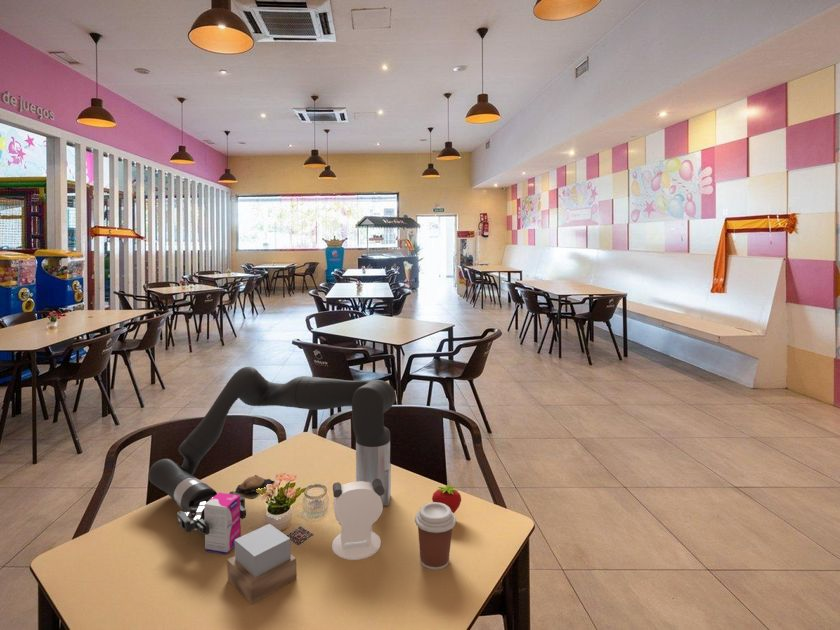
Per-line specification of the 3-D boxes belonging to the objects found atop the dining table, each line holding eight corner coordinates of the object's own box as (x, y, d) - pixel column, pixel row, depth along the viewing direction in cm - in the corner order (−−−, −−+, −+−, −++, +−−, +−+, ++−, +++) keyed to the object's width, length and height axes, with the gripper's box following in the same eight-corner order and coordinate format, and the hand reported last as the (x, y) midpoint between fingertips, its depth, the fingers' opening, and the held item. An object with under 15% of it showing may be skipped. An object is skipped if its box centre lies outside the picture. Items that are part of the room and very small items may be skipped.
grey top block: (235, 559, 99) (234, 539, 98) (270, 542, 105) (269, 523, 104) (255, 577, 93) (254, 556, 93) (290, 558, 99) (290, 538, 99)
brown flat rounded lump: (253, 502, 131) (253, 489, 131) (229, 495, 134) (229, 483, 134) (278, 484, 141) (278, 472, 140) (256, 478, 144) (255, 467, 144)
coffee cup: (459, 552, 109) (460, 503, 108) (448, 578, 101) (449, 525, 99) (421, 544, 112) (422, 496, 111) (408, 568, 104) (408, 517, 102)
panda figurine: (379, 527, 119) (379, 470, 117) (387, 555, 108) (387, 493, 106) (330, 533, 116) (329, 475, 114) (333, 563, 105) (332, 499, 103)
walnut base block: (228, 581, 99) (227, 559, 99) (271, 559, 107) (270, 538, 106) (252, 605, 93) (251, 582, 92) (296, 580, 100) (296, 558, 99)
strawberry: (431, 511, 126) (431, 476, 125) (459, 512, 126) (460, 476, 125) (432, 524, 120) (432, 487, 119) (461, 524, 120) (462, 487, 119)
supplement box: (227, 554, 107) (225, 507, 106) (204, 551, 109) (202, 504, 107) (242, 539, 113) (240, 494, 112) (220, 536, 114) (217, 491, 113)
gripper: (164, 493, 114) (194, 520, 103) (222, 473, 124) (254, 495, 113) (166, 523, 115) (195, 552, 104) (223, 500, 125) (255, 524, 115)
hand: (226, 522), depth 109 cm, fingers open, 8 cm apart
